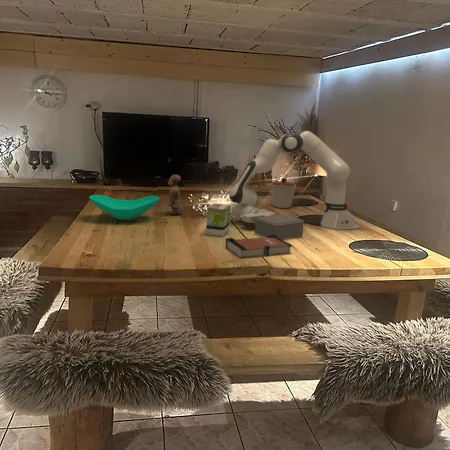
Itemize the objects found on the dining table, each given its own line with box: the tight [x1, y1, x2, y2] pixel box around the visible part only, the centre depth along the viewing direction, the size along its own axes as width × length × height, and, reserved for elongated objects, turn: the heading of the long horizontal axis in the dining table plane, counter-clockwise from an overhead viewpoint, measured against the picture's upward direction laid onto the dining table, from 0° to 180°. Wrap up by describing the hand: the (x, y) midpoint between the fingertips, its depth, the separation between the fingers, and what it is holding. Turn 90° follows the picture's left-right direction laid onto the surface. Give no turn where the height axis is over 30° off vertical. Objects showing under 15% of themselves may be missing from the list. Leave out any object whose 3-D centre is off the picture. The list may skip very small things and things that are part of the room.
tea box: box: [205, 202, 232, 237], centre depth 234 cm, size 15×10×15 cm
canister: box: [270, 177, 297, 209], centre depth 312 cm, size 18×18×21 cm
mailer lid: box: [256, 213, 305, 225], centre depth 235 cm, size 20×20×1 cm
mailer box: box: [254, 219, 305, 241], centre depth 235 cm, size 20×16×8 cm
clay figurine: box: [166, 174, 184, 215], centre depth 272 cm, size 13×10×25 cm
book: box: [225, 235, 293, 259], centre depth 205 cm, size 26×18×5 cm
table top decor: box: [88, 194, 160, 221], centre depth 254 cm, size 40×28×13 cm
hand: (267, 219), depth 242 cm, fingers closed
